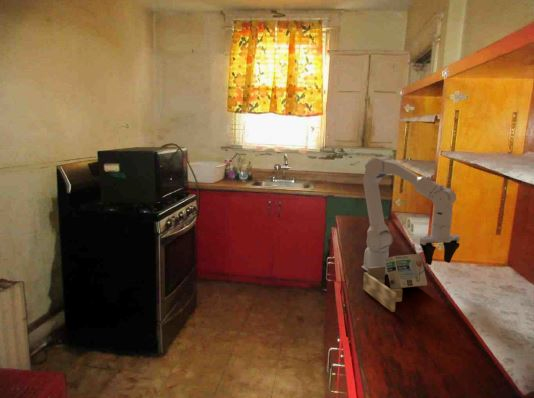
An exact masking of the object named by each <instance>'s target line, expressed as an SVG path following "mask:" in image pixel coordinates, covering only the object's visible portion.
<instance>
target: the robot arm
mask: <svg viewBox="0 0 534 398" xmlns="http://www.w3.org/2000/svg"><path fill="white" fill-rule="evenodd" d="M364 168H365V170H364V174H363V179H362V184H363V190H364V196H365V202H366V208H367V209H366V210H367V214H368V220H369V221H368V222H369V227H368V229H367V232H366V234H367V237H366V246H367V247H366V248H365V250H364V252H363V253H364V255H363V256H364V257H363V265H362V266H361V268H362V269H363V270H365V271H366V272H367V271H368V267H376V266H385V267H386V261H385V258H389V251H390V246H391V245H392V243H393V241H394V239H393V236H392V234H391V232H390V229H389V226H388V225H387V224H386V223H385V217H384V211H383V210H384V209H383V206H382V199H381V193H380V192H381V191H380V186H379V183H380V182H381V181H382V179H383V178H384V177H385V176H386V175H395V176H397V177H399V178H401V179H403V180H405V181H406V182H407V183H410V184H411V185H413V188H414V191H416V192H418V193H419V194H420V195H422V196H424V197H425V198H426V199H429V200H430V201H431V203H432V204H433V213H432V214H433V215H432V222H431V223H432V225H431V233H430V235H427V236H424V237H423V236H422V237H420V238H419V245H420V247H421V249H422V253H423V255H424V260H425V261H424V263H425V264H426V265H428V266H431V265H432V263H433V258H434V254H435V250H436V248H437V247H436V246H434V244H437V243H438V244H440V243H443V248H444V249H443V250H444V251H443V252H444V253H443V254H444V255H443V262H446V263H451V261H452V258H453V256H454V254H455V253H456V251H457V250H458V249H459V247H460V245H461V244H460V243H459V242H460V241H461V236H460V235H458V234H451V229H452V228H451V227H452V219H453V207H454V203H455V202H456V201H457V194H456V192H455V191H454V190H453V189H452V188H451V187H445V185H444V184H439V183H438V182H436V181H434V180H432V179H433V177H431V176H430V175H429V176H425V175H423V176H419V175H418V174H416V173H414V172H413V171H412V170H410V169H409V168H407V167H406V166H404V165H403V164H401V163H400V162H398V161H397V160H396V159H394V158H391V157H390V156H382V157H371V158H370V159H369V160H368V161H367V162H366V164H365V165H364ZM386 275H388V272H387V267H386V268H385V276H386Z"/></svg>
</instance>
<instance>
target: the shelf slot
mask: <svg viewBox="0 0 534 398" xmlns="http://www.w3.org/2000/svg"><path fill="white" fill-rule="evenodd" d="M385 268H386V267H385V266H376V267H368V271H366V272H363V282H362V283H363V285H362V289H363V291H365V292H366V293H368V294H369V295H370V296H371V297H372V298H373V299H375V300H376V301H377V302H379V303H380V304H381V305H382V306H383V307H385V308H386V309H387V310H389V311H390V312H391V313H394V312H395V311H396V303H398V302H402V301H403V292H404V291H403V288H397V289H391V287H388V286H387V285H385V283H386V282H385V281H386V278H385V277H386V275H385Z"/></svg>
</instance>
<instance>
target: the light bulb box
mask: <svg viewBox="0 0 534 398" xmlns="http://www.w3.org/2000/svg"><path fill="white" fill-rule="evenodd" d="M385 261H386V267H387V272H388V274H387V277H388V281H389V286H390V287H389V288H390V289H399V288H401V289H404V288H412V287H423V286H428V282H427V276H426V273H425V267H424V262H423V258H422V253H417V254H403V255H393V256H388V258H385Z"/></svg>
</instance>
